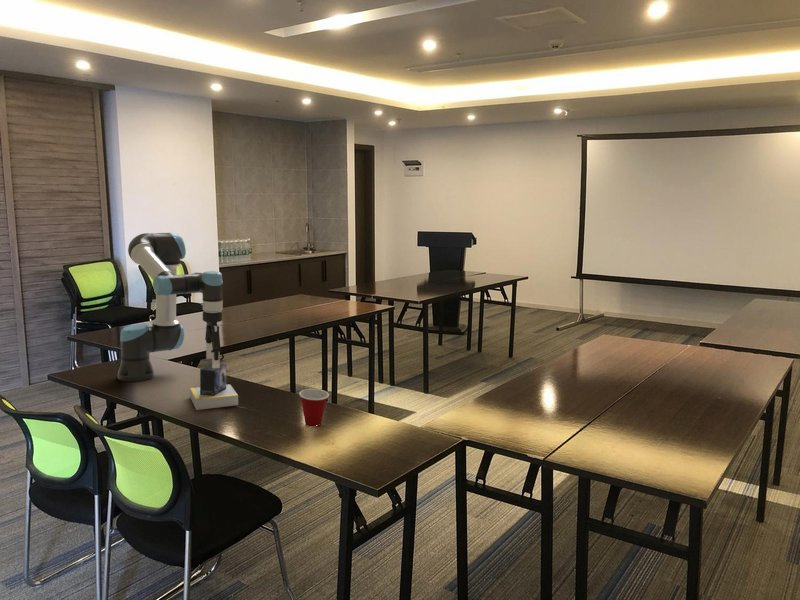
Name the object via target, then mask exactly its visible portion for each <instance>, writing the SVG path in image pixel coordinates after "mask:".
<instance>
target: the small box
mask: <svg viewBox="0 0 800 600" xmlns="http://www.w3.org/2000/svg"><path fill="white" fill-rule="evenodd" d="M199 370H200V371H199V373H200V374H199V376H200V377H199V378H200V379H199V383H200V385H199V387H200V394H202V395H211V396H214V395H216V394H218V393H220V392H221V391H223V390H225V389H226V385H227V364H224V363H220V368H212V363H210V364H208V365H206V366H204V367H201V368H200V369H199Z"/></svg>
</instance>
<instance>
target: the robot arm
mask: <svg viewBox="0 0 800 600" xmlns="http://www.w3.org/2000/svg"><path fill="white" fill-rule="evenodd" d="M127 247H128V248H127V252H128V256H129V257H130V260H132V261H133V263H134V264H137V265H139V266H140V267H141V268H142V269H143V271H144V272H145V273H146V274H147V275H148V276H149V277H150V278H151V279H152V280H153V281H152V287H153V290H154V293H155V319H153V320H152V322H151V325H152V326H149V325H148V324H147V323H135V324H131V325H128V326H125V327H123V328H122V329H121V331H120V339H119V341H120V356H121V357H120V358H121V359H120V361H121V362H120V366H119V369H118V371H117V380H119V381H121V382H129V383H131V382H133V383H134V382H135V383H136V382H141V381H143V382H144V381H147V380H150V379H153V378H154V377H155V370H154V368H153V365H152V363H151V359H150V354H151V353H157V352H165V351H173V350H177V349H180V348H181V346H182V345H183V343H184V340H185V331H184V330H185V329H184V327H183V324H181V323H180V320H178V319H177V295H183V294H185V295H187V294H202V299H201V300H202V302H201V303H200V305H201V306H202V310H203V311H202V321H203V322H204V323H205V322H206V326H205V327H206V328H205V338H204V339H205V345H206V346H205V347H206V350H205V352H206V353H205V354H206V355H205V357H206V360H212V361H211V364H212V368H220V364H221V363H220V362H221V360H220V359H221V358H220V357H221V356H220V353H221V351H222V349H221V336H220V325H218V323H219V322H220V323H221V322H222V321H223V307H224V306H223V304H224V303H223V301H224V300H223V285H224V284H223V283H224V281H223V274H222V273H221V272H220V271H214V270H207V271H204V272H193V273H191V274H190V273H189V274H177V269H178V266H180V265H181V260H183V259H185V257H186V254H187V251H186V245H185V241H184V239H183V237H182V235H180V234H179V233H174V232H173V233H172V232H157V233H155V232H152V233H150V232H145V233H141V234H138V235H136V236H135V237H133V239H131V241H130V242H129V245H128V246H127Z"/></svg>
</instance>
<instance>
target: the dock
mask: <svg viewBox="0 0 800 600" xmlns="http://www.w3.org/2000/svg"><path fill="white" fill-rule="evenodd" d="M189 392H190V393H189V397H190V400H191V401H192V403H193V406H194V408H195V410H196V411H199V410H206V409H215V408H216V409H217V408H223V407H224V408H225V407H233V406H239V394H238V393H237V392H236V390H235V389H234V387H233V386H232V385H231V384H226V389H225V390H223V391H221V392H220V393H218V394H216V395H214V396H211V395H202V394H200V386H199V387H198V386H197V387H190V388H189Z"/></svg>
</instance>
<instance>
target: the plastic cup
mask: <svg viewBox="0 0 800 600" xmlns="http://www.w3.org/2000/svg"><path fill="white" fill-rule="evenodd" d="M298 395H299V396H300V400H301V405H302V406H301V407H302V413H303V418H304V423H305V425H306V426H307V425H308V426H307V427H310V426H316V425H319V424H322V421H323V417H324V412H325V407H326V402H327V400H328V398H329V395H330V394H329V393H328V391H326V390H323V389H319V388H306V389H302V390H300V391H299V394H298ZM316 427H317V426H316Z"/></svg>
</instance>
